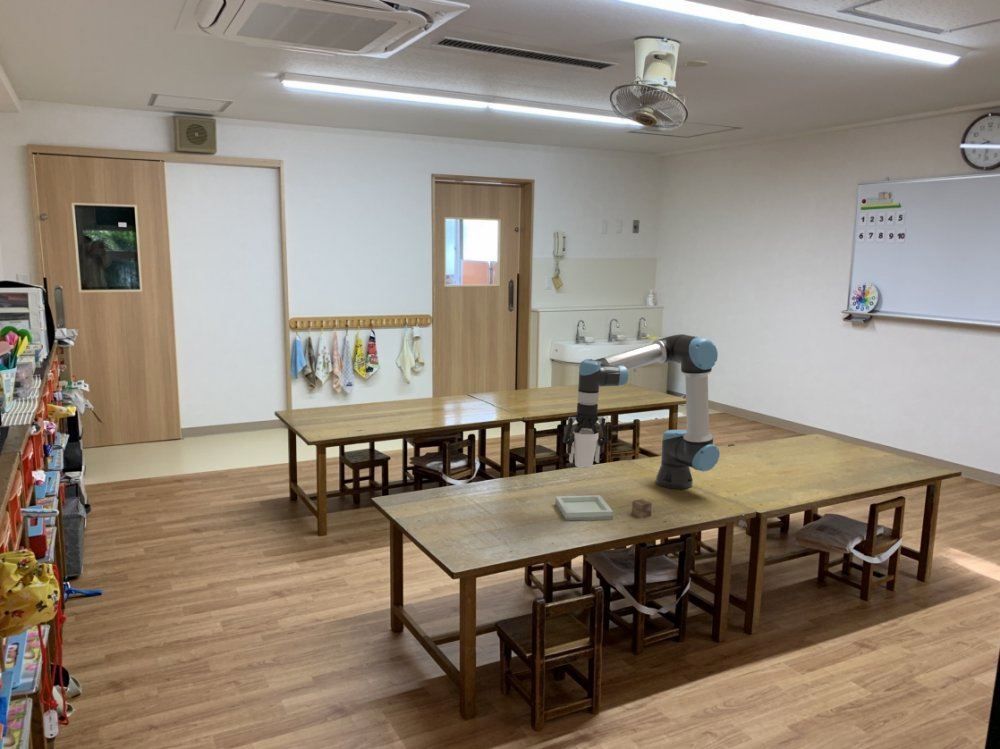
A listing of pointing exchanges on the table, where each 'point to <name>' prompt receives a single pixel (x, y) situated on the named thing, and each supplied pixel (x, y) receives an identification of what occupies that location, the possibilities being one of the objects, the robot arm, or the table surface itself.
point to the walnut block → (641, 508)
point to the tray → (583, 508)
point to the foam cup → (585, 448)
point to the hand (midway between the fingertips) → (583, 461)
